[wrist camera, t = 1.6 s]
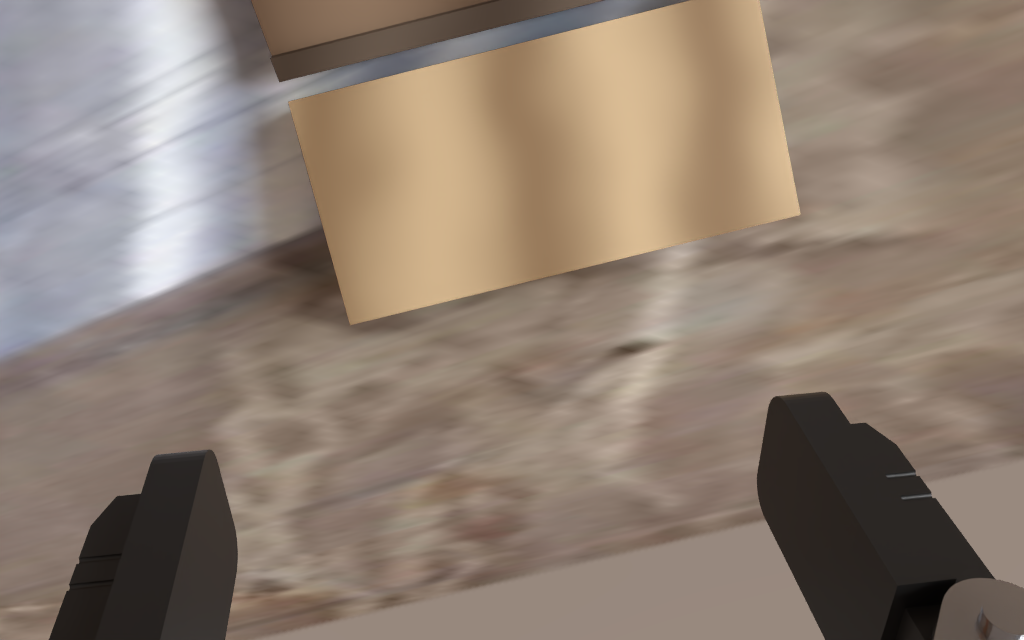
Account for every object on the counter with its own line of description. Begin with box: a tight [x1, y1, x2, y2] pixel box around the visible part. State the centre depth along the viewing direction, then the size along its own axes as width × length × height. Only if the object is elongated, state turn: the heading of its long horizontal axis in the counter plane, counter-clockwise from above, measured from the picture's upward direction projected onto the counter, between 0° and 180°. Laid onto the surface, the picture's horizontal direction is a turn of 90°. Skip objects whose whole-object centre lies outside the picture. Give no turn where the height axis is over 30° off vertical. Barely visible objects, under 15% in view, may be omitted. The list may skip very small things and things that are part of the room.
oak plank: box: [288, 0, 800, 325], centre depth 31 cm, size 16×8×2 cm, turn 102°
